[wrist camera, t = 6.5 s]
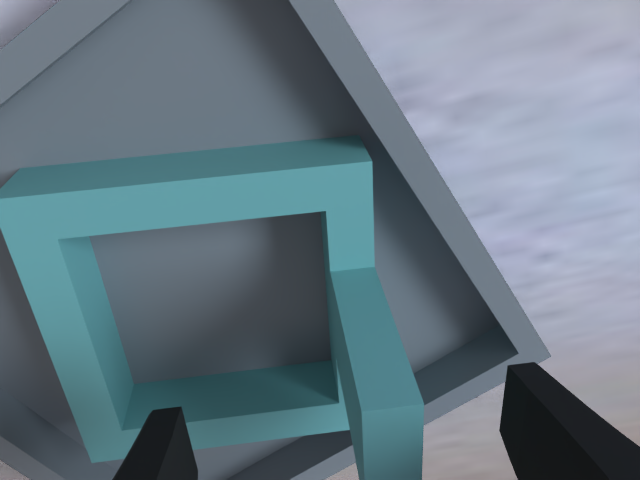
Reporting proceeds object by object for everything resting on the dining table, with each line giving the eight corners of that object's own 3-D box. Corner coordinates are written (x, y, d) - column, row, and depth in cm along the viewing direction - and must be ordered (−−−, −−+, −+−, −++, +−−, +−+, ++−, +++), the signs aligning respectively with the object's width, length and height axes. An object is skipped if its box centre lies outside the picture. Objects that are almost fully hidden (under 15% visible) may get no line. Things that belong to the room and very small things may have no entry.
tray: (525, 318, 20) (551, 356, 18) (171, 517, 23) (164, 565, 21) (243, -140, 12) (241, -152, 11) (-218, 242, 16) (-277, 280, 14)
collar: (106, 414, 19) (37, 640, 13) (20, 168, 15) (-144, 335, 9) (367, 382, 20) (418, 585, 14) (358, 134, 15) (428, 270, 9)
